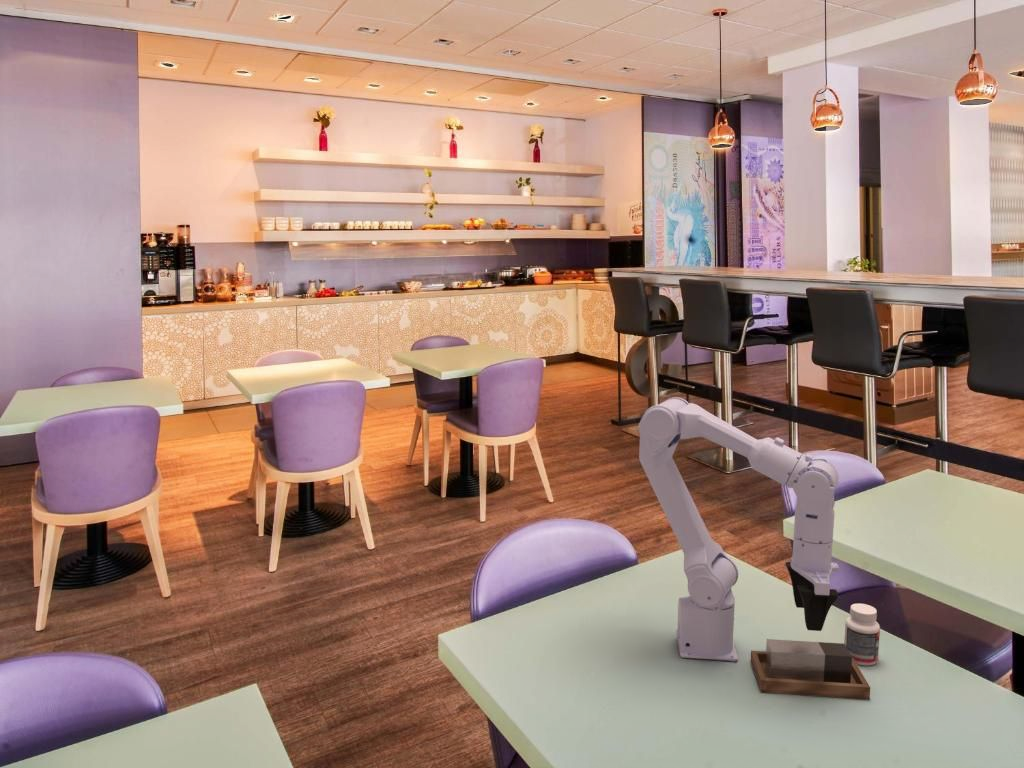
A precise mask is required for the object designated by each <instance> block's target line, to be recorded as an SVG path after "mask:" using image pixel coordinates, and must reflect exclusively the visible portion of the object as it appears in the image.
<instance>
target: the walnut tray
mask: <svg viewBox="0 0 1024 768" xmlns="http://www.w3.org/2000/svg"><path fill="white" fill-rule="evenodd" d="M749 662H750V665H751V667H752V670H753V673H754V675H755V676H754V677H755V680H756V682H757V685H758V686H757V687H758V688H759V691H760V693H767V694H768V693H769V694H782V695H794V696H795V695H796V696H797V695H799V696H810V697H811V696H812V697H825V698H839V699H841V698H842V699H852V700H853V699H854V700H868V701H869V700H870V698H871V686H870V684H869V683H868V680H867V679H866V678H865V676H864V674H863V672H862V671H861V668H859V665H858V664H856V662H855V661H854V659H853V657H852V667H851V682H850V683H836V682H821V681H806V680H791V679H776V678H769V676H768V674H767V671H766V668H765V663H766V650H750V661H749Z"/></svg>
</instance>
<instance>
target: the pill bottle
mask: <svg viewBox="0 0 1024 768" xmlns="http://www.w3.org/2000/svg"><path fill="white" fill-rule="evenodd" d="M877 611H878V610H877V609H876V608H875V607H874V606H872V605H869V604H866V603H853V604H851V605H850V609H849V614H850V616H848V617H847V618H846V620H845V623H844V624H845V626H844V627H845V629H844V641H843V642H844V643H843V644H845V645H846V647H847V649H848V650H849V652H850V654H851V655H852V657H853V659H854V661H855V662H856V664H857V666H867V667H868V666H869V667H870V666H874V665H876V664H877V663H878V661H879V660H878V659H879V647H880V634H881V626H880V624H879V623H878V622H877V619H878V614H877V613H878V612H877Z"/></svg>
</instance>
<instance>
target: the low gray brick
mask: <svg viewBox="0 0 1024 768" xmlns="http://www.w3.org/2000/svg"><path fill="white" fill-rule="evenodd" d="M765 642H766V643H765V645H766V646H765V648H766V649H765V651H766V663H765V668H766V671H767V674H768V676H769V678H776V679H791V680H806V681H821V682H836V683H850V682H851V667H852V655H851V654H850V652H849V650H848V649H847V647H846V645H845V644H844V643H841V642H840V643H839V642H824V641H823V642H822V641H809V640H808V641H807V640H805V641H804V640H792V639H791V640H789V639H773V638H772V639H771V638H767V639H766V641H765Z"/></svg>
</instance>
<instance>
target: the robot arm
mask: <svg viewBox="0 0 1024 768" xmlns="http://www.w3.org/2000/svg"><path fill="white" fill-rule="evenodd" d="M637 430H638V432H639V448H638V449H639V451H638V456H639V457H638V458H639V461H640V462H639V463H640V464H641V466H642V468H643V471H644V473H645V475H646V477H647V479H648V481H649V483H650V485H651V487H652V489H653V493H654V494H655V496H656V498H657V500H658V502H659V504H660V506H661V508H662V510H663V513H664V515H665V517H666V519H667V521H668V523H669V525H670V527H671V529H672V532H673V533H674V536H675V538H676V540H677V541H678V544H679V547H680V548H681V550H682V553H683V571H684V574H685V575H686V576H685V577H686V579H687V591H688V596H686V597H685V596H684V597H678V602H677V607H678V608H677V628H676V631H675V632H676V635H675V636H676V640H677V643H678V644H677V645H678V649H679V650H678V651H679V656H680V657H681V658H686V659H688V658H689V659H698V660H700V659H702V660H716V661H717V660H718V661H731V662H737V661H739V656H738V652H737V650H736V645H735V643H734V628H735V607H736V605H735V603H736V601H735V597H734V594H733V591H732V588H733V587H734V586H735V584H736V583H737V582H738V580H739V569H738V566H737V564H736V562H735V561H733V560H732V558H730V557H729V556H728V555H727V554H726V553H725V552H724V549H723V547H722V546H721V545H720V544H719V543H717V542H716V541H714V540H713V539H712V537H711V535H710V532H709V531H708V529H707V527H706V524H705V522H704V520H703V518H702V516H701V514H700V512H699V509H698V507H697V505H696V504H695V502H694V500H693V498H692V495H691V493H690V491H689V489H688V487H687V484H686V483H685V480H684V479H683V477H682V475H681V473H680V470H679V469H678V466H677V464H676V462H675V460H674V457H673V455H674V453H675V451H676V449H677V447H678V444H679V441H680V440H687V439H694V438H704V439H705V440H708V441H711V443H712V442H713V443H714V444H717V445H719V446H721V447H724V448H725V449H728V450H730V451H732V452H735V453H736V454H739V455H740V456H742V457H745V458H747V460H748V462H749V464H750V467H751V469H752V470H755V472H758V473H760V474H762V475H764V476H765V477H768V478H770V479H772V480H773V481H775V482H777V483H779V484H781V485H783V486H785V487H787V488H790V489H793V493H794V494H795V496H796V505H795V509H794V526H793V527H794V528H793V545H792V556H791V557H792V558H791V559H790V561H786V562H785V564H784V565H785V567H786V569H787V571H788V574H789V578H790V581H791V585H792V594H793V600H794V605H795V607H796V608H800V609H803V613H804V620H805V621H804V622H805V627H806V629H807V631H815V632H821V631H823V630H822V629H823V627H824V625H825V621H826V619H827V616H828V614H829V611H830V609H831V607H832V605H834V603H835V602H836V601H837V600H838V598H839V592H838V591H837V588H836V589H834V588H831V583H830V581H831V580H830V579H831V576H832V573H833V572H839V571H840V567H839V565H838V563H837V562H833V561H832V557H833V555H832V554H833V541H834V527H835V526H834V525H835V504H836V503H835V491H836V488H837V487H838V484H839V474H838V471H837V469H836V468H835V466H834V465H833V464H831V463H830V462H828V461H827V460H826V459H825V458H821V457H816V458H815V457H814V456H813V455H811V454H809V453H806V455H805V454H803V453H802V452H799V451H797V450H796V449H793V448H791V447H789V446H787V445H785V444H784V443H785V440H784V439H782V438H780V437H778V436H777V437H775V439H773V438H771V437H769V436H768V437H764V438H760V439H757V438H755V437H753V436H751V435H750V434H748V433H746V432H744V431H742V430H741V429H739V428H738V427H735V426H734V425H731V424H730V423H729V422H727V421H725V420H723V419H721V418H719V417H717V416H715V415H714V414H712V413H710V412H709V411H708V410H706V409H704V408H703V407H701V406H699V405H698V404H696V403H693V402H690V403H689V401H687V400H685V399H684V398H682V397H677V396H674V397H669V398H667V399H666V400H664V401H663V402H661V403H658V404H656V405H652V406H650V407H649V408H647V409H646V411H645V412H644V413H643V415H642V417H641V418H640V421H639V424H638V426H637Z"/></svg>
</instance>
